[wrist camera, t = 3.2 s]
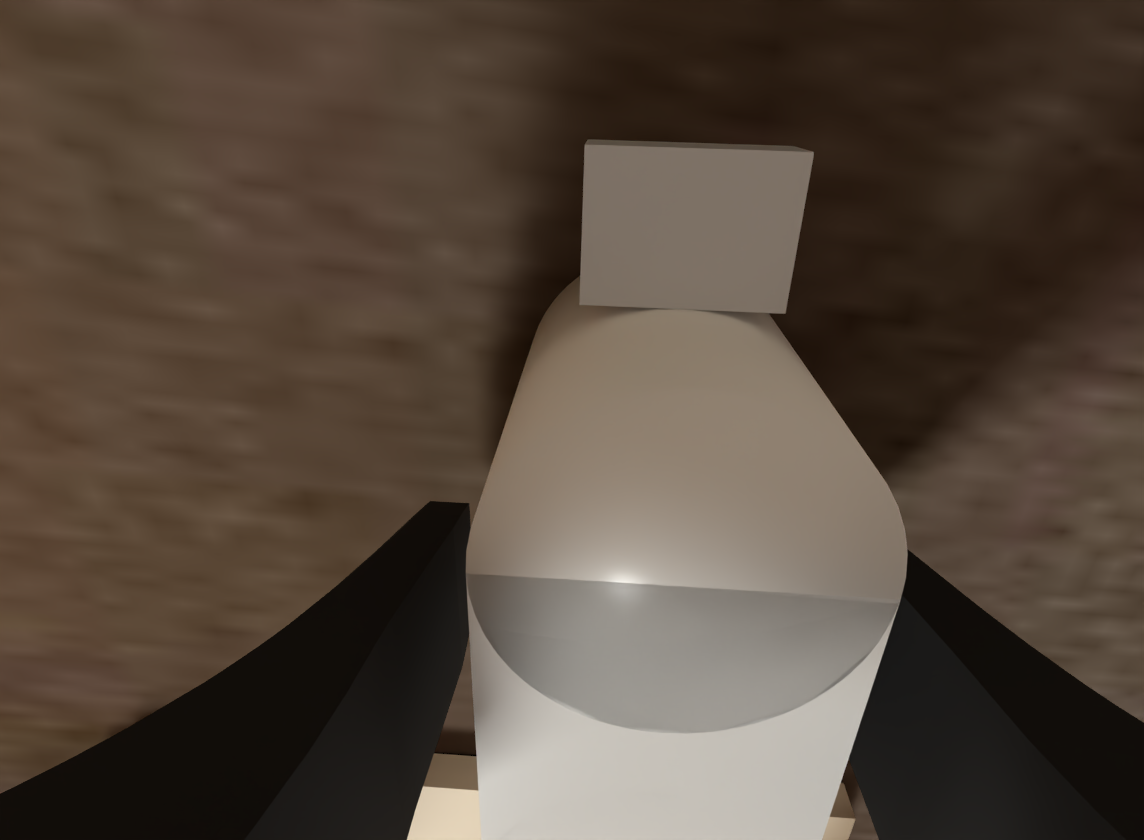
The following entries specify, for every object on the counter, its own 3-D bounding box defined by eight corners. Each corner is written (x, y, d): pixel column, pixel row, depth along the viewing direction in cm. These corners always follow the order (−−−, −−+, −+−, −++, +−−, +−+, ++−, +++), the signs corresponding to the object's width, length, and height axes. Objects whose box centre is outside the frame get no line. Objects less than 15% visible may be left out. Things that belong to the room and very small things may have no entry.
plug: (528, 127, 9) (441, 162, 5) (823, 137, 9) (1036, 183, 4) (530, 679, 14) (488, 962, 9) (721, 692, 14) (774, 987, 9)
